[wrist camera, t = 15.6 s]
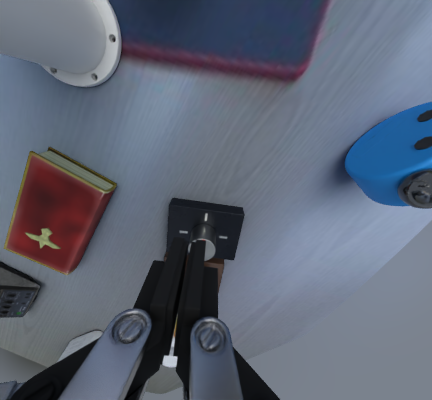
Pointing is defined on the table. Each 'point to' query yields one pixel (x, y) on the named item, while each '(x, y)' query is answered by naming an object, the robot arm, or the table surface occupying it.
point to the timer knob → (204, 234)
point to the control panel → (210, 215)
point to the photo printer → (80, 343)
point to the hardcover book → (57, 210)
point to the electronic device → (15, 292)
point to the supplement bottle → (171, 353)
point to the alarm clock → (396, 159)
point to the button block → (210, 265)
